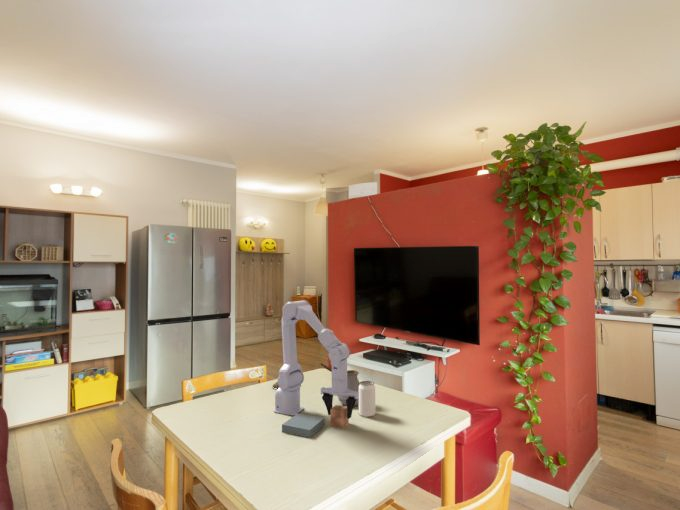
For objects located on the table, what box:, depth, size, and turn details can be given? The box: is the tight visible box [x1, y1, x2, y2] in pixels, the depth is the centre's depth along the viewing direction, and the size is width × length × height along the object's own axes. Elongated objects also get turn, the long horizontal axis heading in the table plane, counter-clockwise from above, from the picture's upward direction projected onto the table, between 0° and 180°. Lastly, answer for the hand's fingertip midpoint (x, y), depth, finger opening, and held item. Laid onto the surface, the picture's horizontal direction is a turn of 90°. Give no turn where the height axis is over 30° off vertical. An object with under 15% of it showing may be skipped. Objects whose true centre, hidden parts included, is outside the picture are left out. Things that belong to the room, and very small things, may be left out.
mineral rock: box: [272, 381, 279, 389], centre depth 177 cm, size 11×4×8 cm
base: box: [281, 412, 325, 438], centre depth 130 cm, size 11×11×2 cm
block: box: [329, 404, 350, 429], centre depth 133 cm, size 5×5×6 cm
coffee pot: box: [318, 363, 360, 407], centre depth 157 cm, size 21×12×15 cm, turn 63°
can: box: [358, 380, 376, 418], centre depth 143 cm, size 6×6×12 cm
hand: (339, 416), depth 133 cm, fingers open, 7 cm apart
